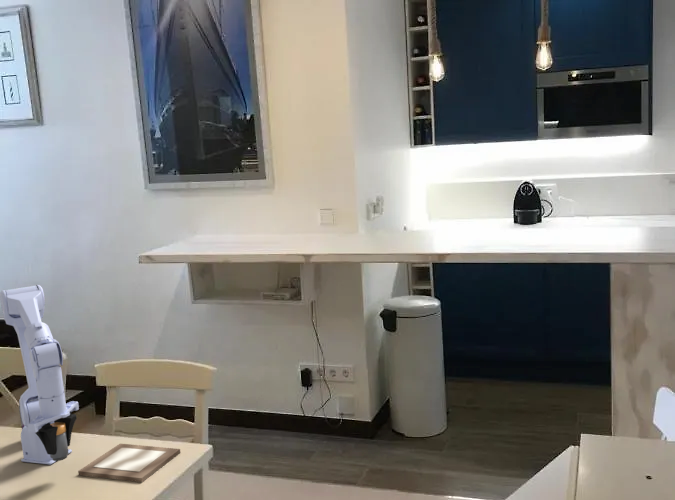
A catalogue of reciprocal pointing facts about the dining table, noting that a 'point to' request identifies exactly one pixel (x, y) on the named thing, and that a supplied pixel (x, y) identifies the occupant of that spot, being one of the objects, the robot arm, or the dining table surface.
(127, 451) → the board
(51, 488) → the dining table surface
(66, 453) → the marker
